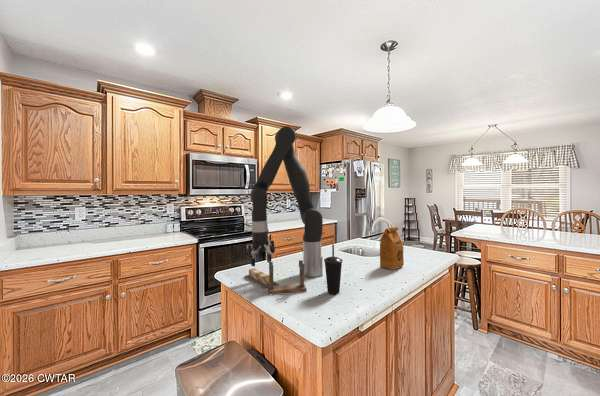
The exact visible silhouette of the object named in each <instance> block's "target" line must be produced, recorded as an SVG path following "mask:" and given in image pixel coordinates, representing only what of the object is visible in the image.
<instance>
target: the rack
mask: <svg viewBox="0 0 600 396" xmlns="http://www.w3.org/2000/svg"><path fill="white" fill-rule="evenodd" d="M298 268H299V284H289V285H288V284H287V285H275V286H273V279H274V263H273V261H271V262H269V263H268V275H269V287H268V288H267V295H268V296H270V294H272V295H284V294H296V293H297V294H298V293H307V287H306V284H305V275H304V271H305V264H304V263H303V259H302V260H300V259H299V260H298Z"/></svg>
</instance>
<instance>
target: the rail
mask: <svg viewBox="0 0 600 396" xmlns="http://www.w3.org/2000/svg"><path fill="white" fill-rule="evenodd" d="M248 275H249V276H251V277H253V278H255V279H257V280H258V281H260V282H262V283H264V284H266V285H269V274H267V273H265V272H263V271H261V270H259V269H256V268H254V267H253V268H249V269H248ZM274 282H275V281H274V278H273V284H274Z"/></svg>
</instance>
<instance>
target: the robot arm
mask: <svg viewBox="0 0 600 396" xmlns="http://www.w3.org/2000/svg"><path fill="white" fill-rule="evenodd" d="M296 138H297V134H296V130H295V129H294V128H293V127H292V126H286V125H285V126H283V127H281V128H279V129H278V131H277V132H276V133H275V135H274V142H275V144H274V147H273V150H272V152H271V154H270V155H269V157H268V158H267V160H266V162H265V164H264V166H263V168H262V170H261V171H260V173H259V176H258V179H257V180H256V182H255V184H253V185H254V186H253V187H252V189H251V191H250V193H249V194H250V195H249V198H250V201H251V202H252V210H251V241H252V244H246V246H245V252H246V253H245V257H247V258H248V259H250V266H251V267H253V268H254V267H256V258H255V257H256V256H257V255H258V253H262V252H265V253H266V261H267V263H268V264H269V262H272V254H274V253H275V252H276V250H275V241H274V240H272V239H269V226H268V214H267V208H268V193H267V191H268V190H269V188H270V186H272V184H273V183H274V181H275V178H276V176H277V175H278V174H277V173H278V172H279V169H280V167H281V165H282V163H283V164H284V168H285V171H286V175H287V178H288V181H289V184H290V186H291V190H292V193H293V195H294V197H295V199H296V202H297V205H298V210H299V214H300V219H301V222H302V223H303V225H304V233H303V236H302V254H303V255H302V256H303V257H302V260H303V263H304V264H305V271H304V277H306V278H307V277H308V278H317V277H320V276H323V275H324V274H323V272H324V271H323V264H324V263H323V255H322V238H323V237H322V236H323V227H324V226H323V225H324V224H323V221H324V220H323V215H322V213H321V211H320V210H318V209H315V206H314V204H313V201H312V199H311V189H310V188H311V187H310V181H309V178H308V175H307V172H306V169H305V168H304V166H303V164H302V162H301V161H300V160H299V158H298V156H297V154H296V151H295V148H294V143H295V142H296V140H297V139H296Z"/></svg>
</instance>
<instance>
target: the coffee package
mask: <svg viewBox="0 0 600 396" xmlns="http://www.w3.org/2000/svg"><path fill="white" fill-rule="evenodd" d="M398 230H399V227H398V226H393V227H387V228H385V230H384V231H383V233H382V235H381V237H380V242H379V267H380V268H381V269H388V270H394V269H399V268H402V267H404V245H403V241H402V239H401V237H400V236H399V232H398Z"/></svg>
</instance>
